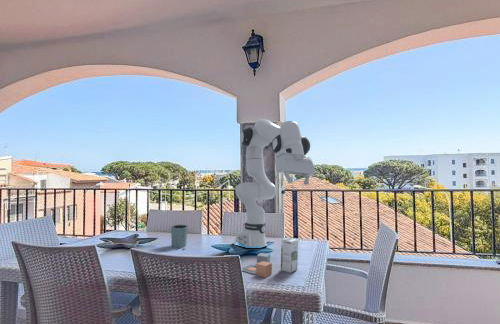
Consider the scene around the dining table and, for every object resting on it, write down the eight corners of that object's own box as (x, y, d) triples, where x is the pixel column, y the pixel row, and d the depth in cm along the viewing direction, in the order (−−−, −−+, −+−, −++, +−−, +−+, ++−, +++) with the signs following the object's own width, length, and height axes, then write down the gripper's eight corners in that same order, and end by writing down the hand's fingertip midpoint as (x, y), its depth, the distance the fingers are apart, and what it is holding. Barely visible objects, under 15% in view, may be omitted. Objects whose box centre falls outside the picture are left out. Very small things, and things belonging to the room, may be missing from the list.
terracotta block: (256, 274, 133) (256, 263, 133) (262, 272, 137) (262, 261, 137) (265, 277, 130) (265, 266, 130) (271, 274, 134) (271, 263, 134)
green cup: (175, 243, 186) (175, 224, 186) (190, 244, 184) (190, 225, 184) (167, 247, 176) (167, 227, 176) (183, 249, 174) (183, 228, 174)
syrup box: (287, 267, 144) (287, 237, 144) (297, 270, 140) (298, 239, 140) (280, 270, 139) (280, 239, 140) (291, 273, 136) (291, 241, 136)
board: (239, 270, 139) (239, 269, 139) (250, 265, 146) (250, 264, 146) (254, 274, 133) (254, 273, 133) (266, 269, 140) (266, 268, 140)
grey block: (256, 265, 146) (256, 255, 146) (260, 262, 151) (260, 252, 151) (266, 267, 144) (266, 256, 144) (269, 264, 149) (269, 254, 149)
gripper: (305, 159, 142) (310, 187, 137) (271, 153, 131) (276, 184, 126) (315, 154, 137) (320, 183, 133) (281, 148, 126) (285, 179, 121)
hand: (298, 183), depth 129 cm, fingers open, 8 cm apart
